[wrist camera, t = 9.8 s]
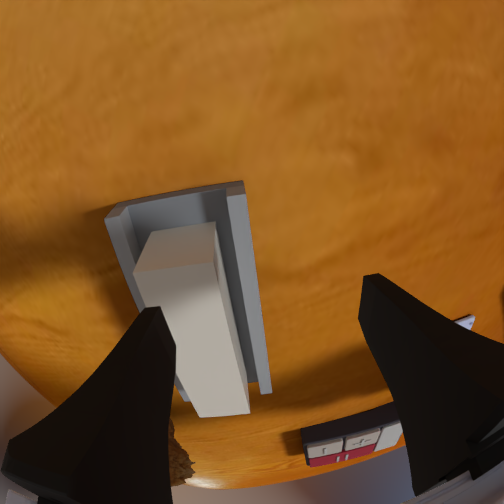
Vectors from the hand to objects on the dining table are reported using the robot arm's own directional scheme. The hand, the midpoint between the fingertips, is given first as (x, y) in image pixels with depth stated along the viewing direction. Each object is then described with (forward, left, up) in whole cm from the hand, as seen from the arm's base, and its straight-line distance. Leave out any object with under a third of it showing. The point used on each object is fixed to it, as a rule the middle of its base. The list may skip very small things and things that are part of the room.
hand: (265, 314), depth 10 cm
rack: (-7, +4, -9) cm, 12 cm away
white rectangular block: (-7, +4, -8) cm, 12 cm away
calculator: (-35, -11, -10) cm, 38 cm away
